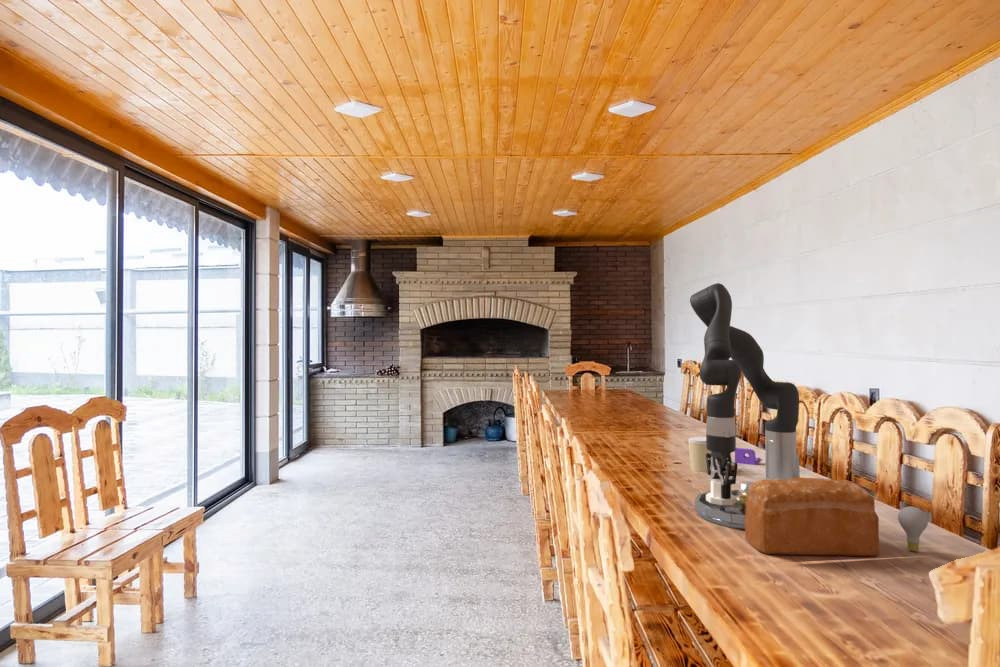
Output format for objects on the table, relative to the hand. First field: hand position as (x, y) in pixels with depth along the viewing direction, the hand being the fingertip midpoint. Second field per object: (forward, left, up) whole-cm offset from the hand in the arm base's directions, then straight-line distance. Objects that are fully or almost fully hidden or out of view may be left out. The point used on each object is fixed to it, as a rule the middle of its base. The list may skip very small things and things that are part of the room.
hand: (721, 495), depth 155 cm
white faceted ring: (0, 0, -2) cm, 2 cm away
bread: (-9, +24, -6) cm, 26 cm away
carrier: (-8, 0, -6) cm, 10 cm away
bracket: (-41, -62, -6) cm, 74 cm away
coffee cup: (-18, -51, -6) cm, 54 cm away
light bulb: (-31, +29, -6) cm, 43 cm away
